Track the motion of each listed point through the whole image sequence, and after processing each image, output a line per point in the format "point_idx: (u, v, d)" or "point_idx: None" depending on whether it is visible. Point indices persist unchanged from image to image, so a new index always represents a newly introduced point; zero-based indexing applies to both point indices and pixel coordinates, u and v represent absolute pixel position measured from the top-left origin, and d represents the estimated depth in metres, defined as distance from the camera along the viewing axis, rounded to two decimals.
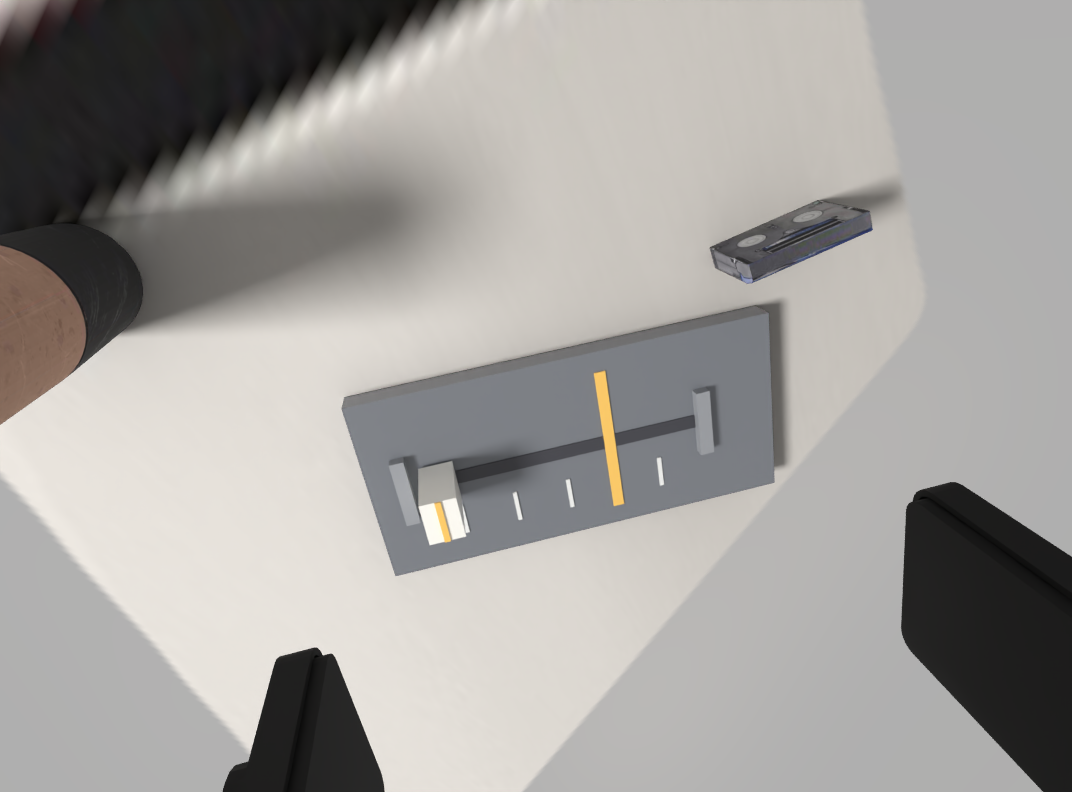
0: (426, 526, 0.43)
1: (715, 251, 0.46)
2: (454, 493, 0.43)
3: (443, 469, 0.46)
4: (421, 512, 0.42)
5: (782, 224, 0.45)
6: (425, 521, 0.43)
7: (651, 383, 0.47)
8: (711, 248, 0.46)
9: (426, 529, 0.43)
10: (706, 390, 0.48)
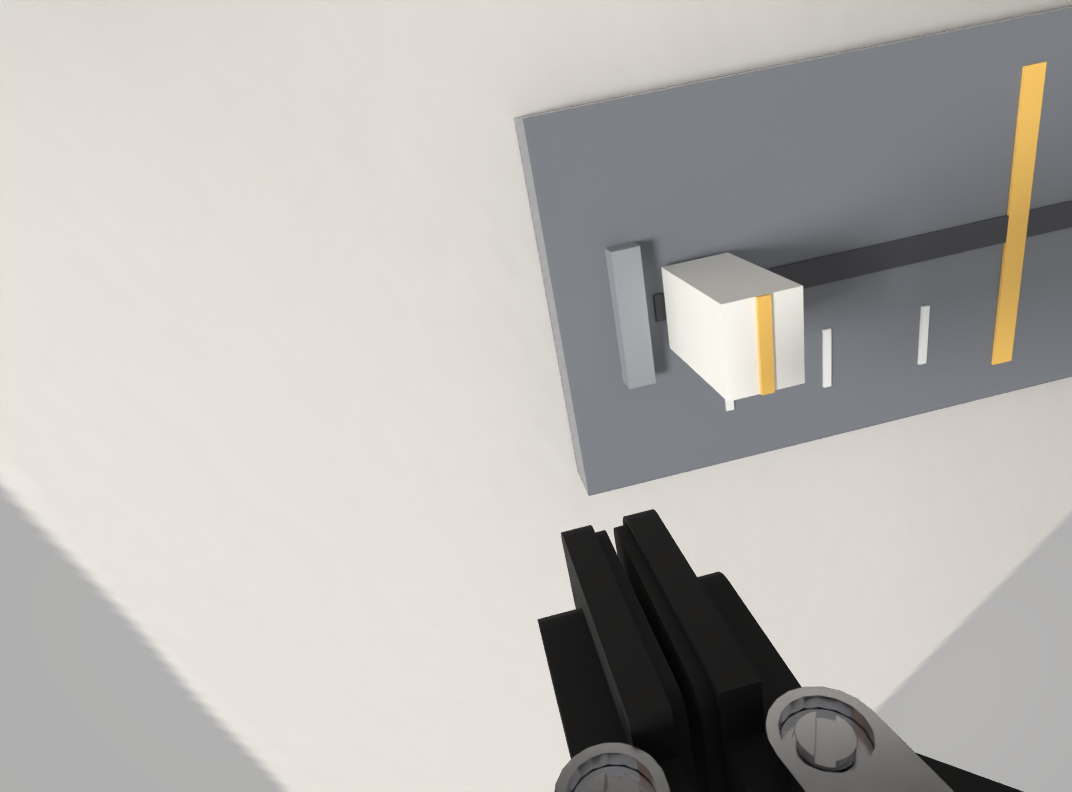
0: (729, 355, 0.19)
1: None
2: (790, 281, 0.19)
3: (720, 261, 0.22)
4: (724, 319, 0.19)
5: None
6: (729, 342, 0.19)
7: None
8: None
9: (727, 362, 0.19)
10: None
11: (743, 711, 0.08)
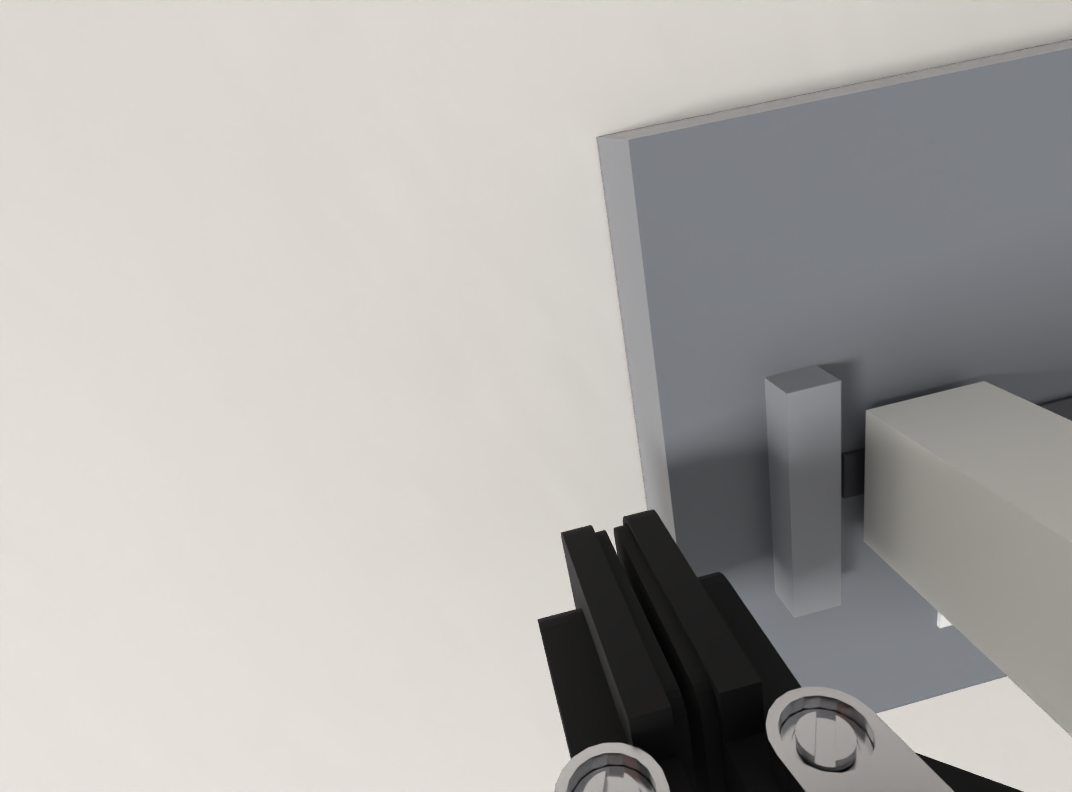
0: None
1: None
2: None
3: (991, 408, 0.12)
4: None
5: None
6: None
7: None
8: None
9: None
10: None
11: (743, 711, 0.08)
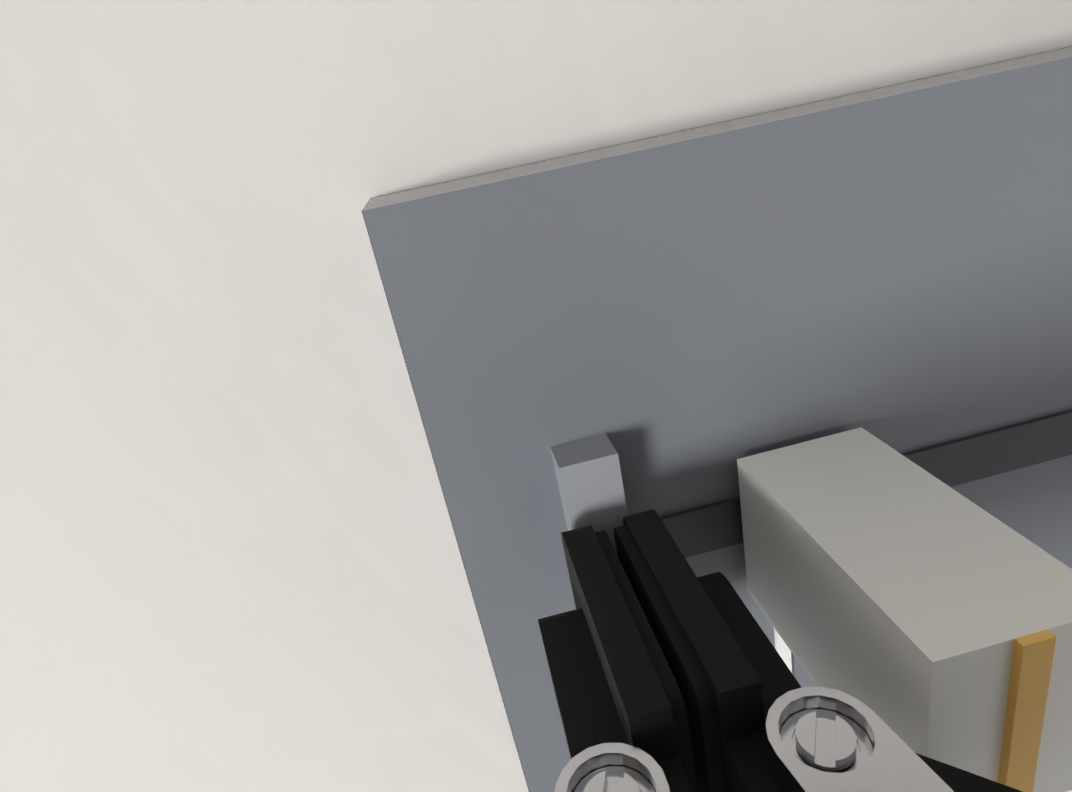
0: (936, 755, 0.08)
1: None
2: None
3: (859, 459, 0.11)
4: (937, 690, 0.08)
5: None
6: (941, 732, 0.08)
7: None
8: None
9: None
10: None
11: (743, 711, 0.08)
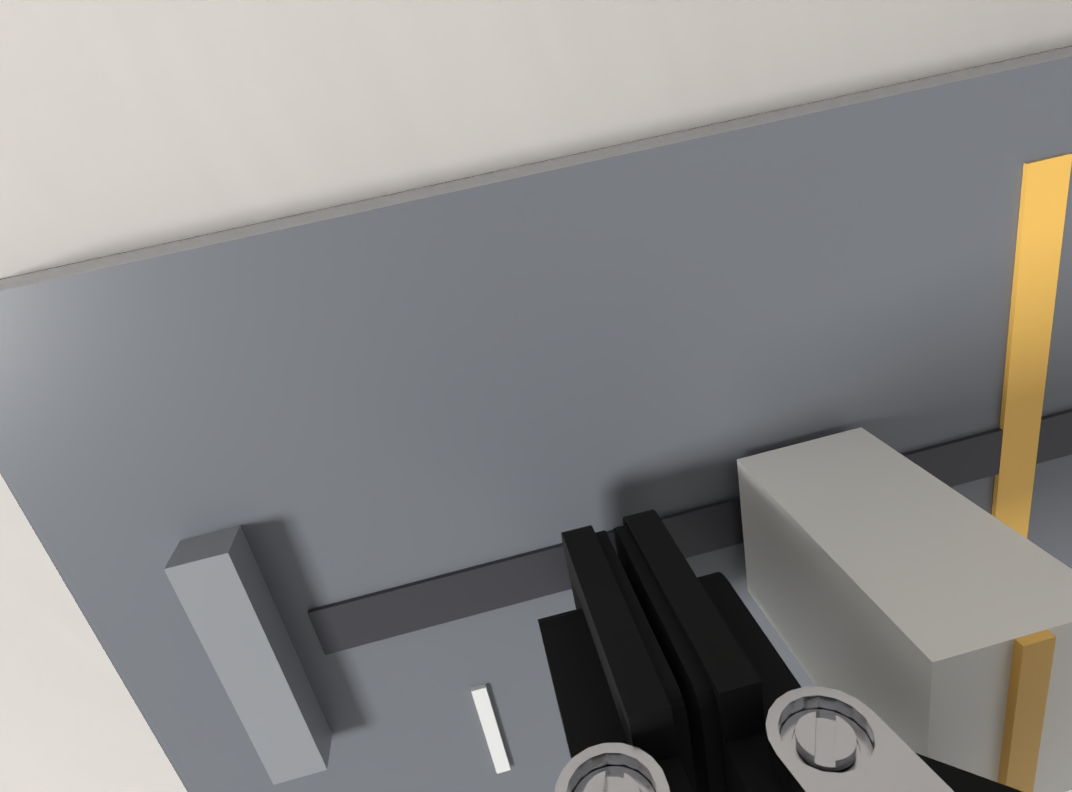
0: (937, 755, 0.08)
1: None
2: None
3: (859, 459, 0.11)
4: (937, 690, 0.08)
5: None
6: (941, 732, 0.08)
7: None
8: None
9: None
10: None
11: (743, 711, 0.08)
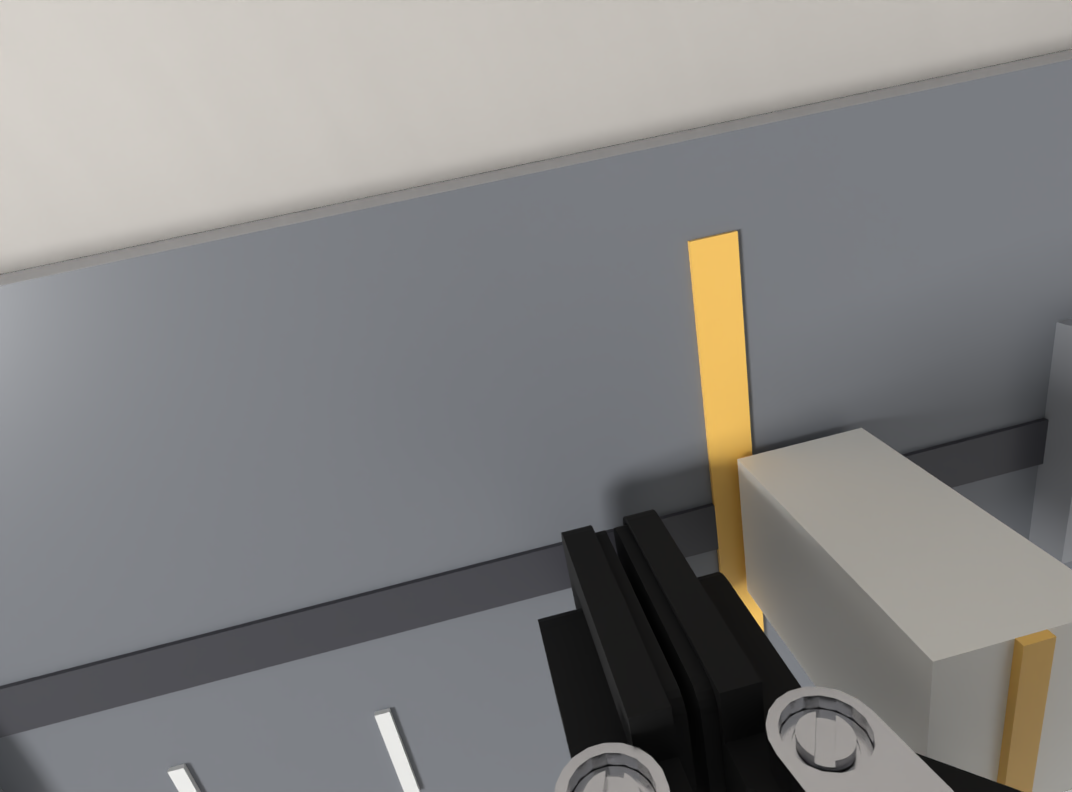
0: (936, 754, 0.08)
1: None
2: None
3: (859, 459, 0.11)
4: (937, 690, 0.08)
5: None
6: (941, 732, 0.08)
7: (914, 293, 0.12)
8: None
9: None
10: None
11: (743, 711, 0.08)
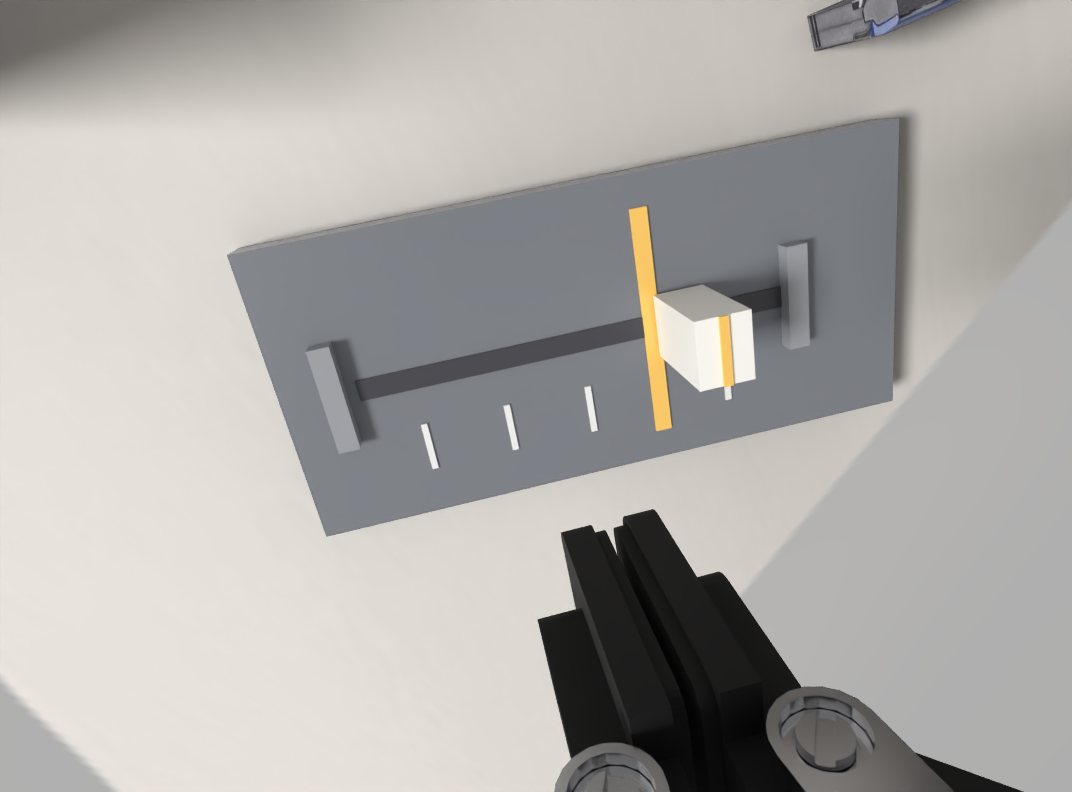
0: (700, 358, 0.27)
1: (819, 14, 0.29)
2: (743, 306, 0.27)
3: (696, 291, 0.30)
4: (696, 332, 0.27)
5: None
6: (700, 349, 0.27)
7: (717, 231, 0.31)
8: (811, 15, 0.30)
9: (699, 363, 0.27)
10: (801, 242, 0.31)
11: (743, 711, 0.08)
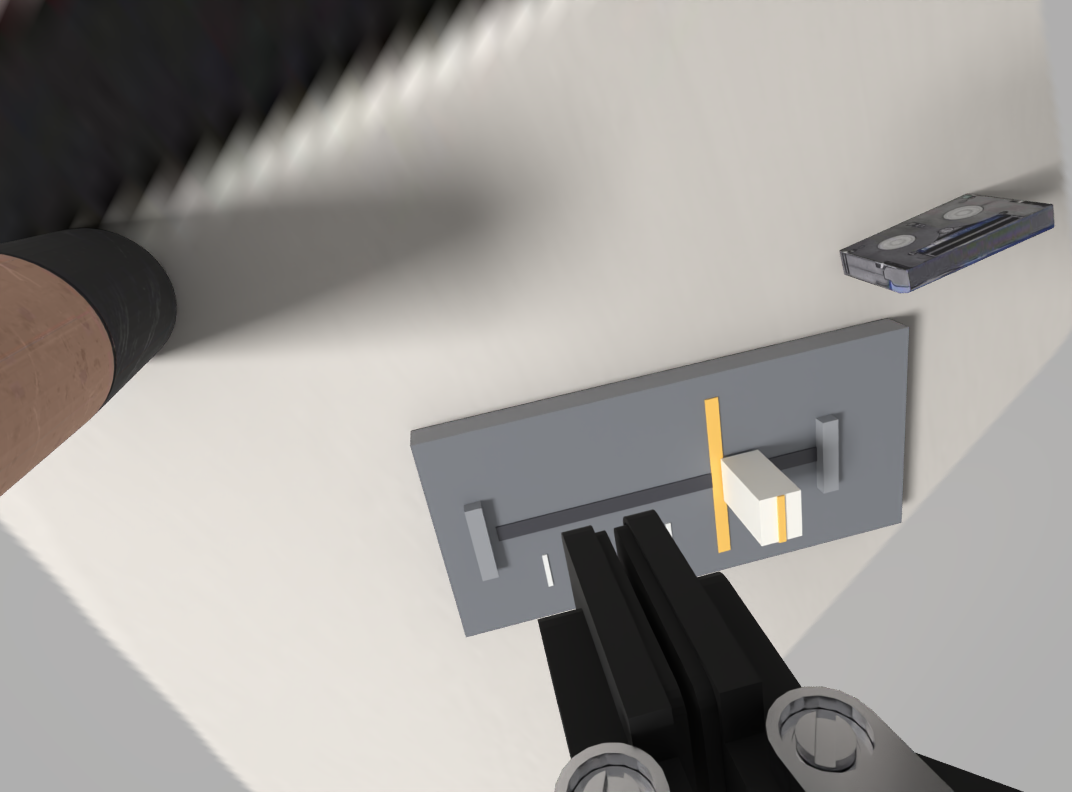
0: (762, 524, 0.37)
1: (849, 255, 0.39)
2: (794, 485, 0.37)
3: (755, 459, 0.40)
4: (760, 507, 0.36)
5: (931, 222, 0.38)
6: (763, 518, 0.37)
7: (770, 411, 0.40)
8: (842, 251, 0.39)
9: (762, 527, 0.37)
10: (833, 418, 0.41)
11: (743, 711, 0.08)
